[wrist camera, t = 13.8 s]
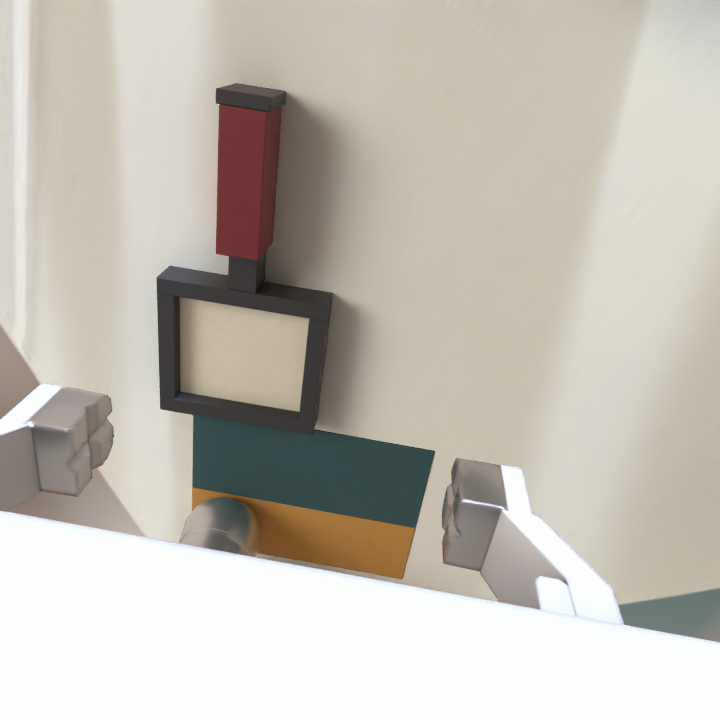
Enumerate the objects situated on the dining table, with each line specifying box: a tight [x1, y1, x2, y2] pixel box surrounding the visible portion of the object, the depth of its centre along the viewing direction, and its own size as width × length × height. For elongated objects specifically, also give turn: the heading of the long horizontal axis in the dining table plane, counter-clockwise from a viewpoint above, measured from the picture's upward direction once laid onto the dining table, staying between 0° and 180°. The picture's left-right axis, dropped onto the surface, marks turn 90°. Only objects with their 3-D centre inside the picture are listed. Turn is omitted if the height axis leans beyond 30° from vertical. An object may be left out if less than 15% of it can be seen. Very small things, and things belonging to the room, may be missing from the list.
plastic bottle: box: [180, 497, 261, 557], centre depth 46 cm, size 6×7×20 cm
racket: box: [157, 83, 333, 435], centre depth 42 cm, size 24×12×4 cm, turn 172°
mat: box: [192, 415, 435, 579], centre depth 53 cm, size 20×15×1 cm
